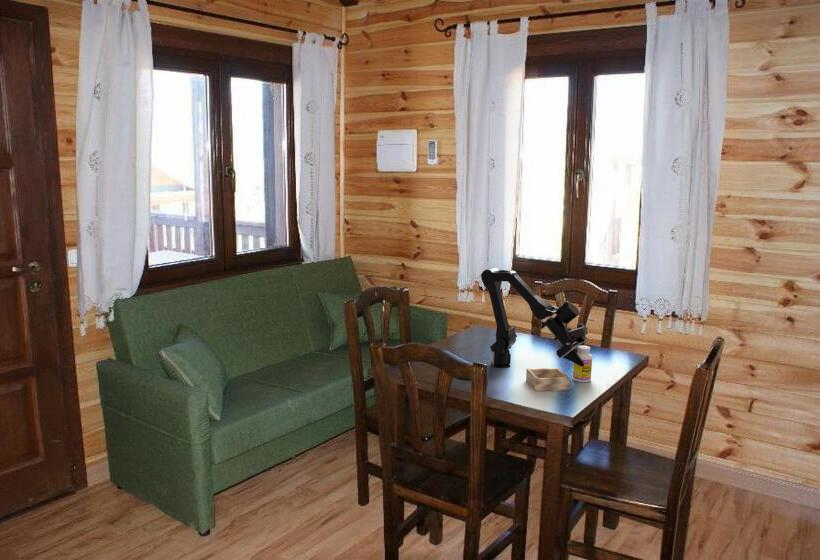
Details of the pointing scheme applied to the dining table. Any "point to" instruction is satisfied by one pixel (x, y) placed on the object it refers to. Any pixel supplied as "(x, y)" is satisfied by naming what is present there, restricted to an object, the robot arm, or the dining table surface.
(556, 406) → the dining table surface
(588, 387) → the dining table surface
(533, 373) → the birch box
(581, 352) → the supplement bottle
